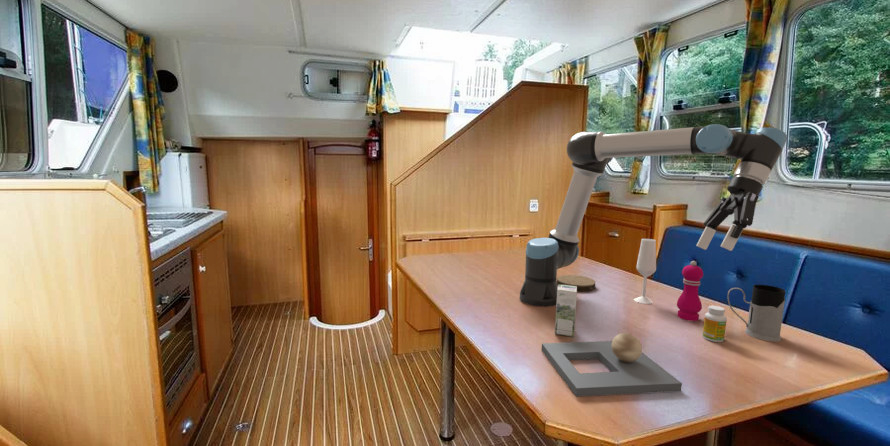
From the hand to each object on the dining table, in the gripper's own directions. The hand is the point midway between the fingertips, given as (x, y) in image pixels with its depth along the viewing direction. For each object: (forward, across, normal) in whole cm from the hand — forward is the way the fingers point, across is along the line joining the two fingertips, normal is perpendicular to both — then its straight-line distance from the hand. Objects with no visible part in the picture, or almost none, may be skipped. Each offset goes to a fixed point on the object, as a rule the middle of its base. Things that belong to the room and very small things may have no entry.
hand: (712, 248), depth 109 cm
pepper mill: (+20, +24, -14) cm, 35 cm away
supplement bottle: (+23, +8, -15) cm, 29 cm away
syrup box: (+42, +4, +24) cm, 49 cm away
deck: (+42, -16, +16) cm, 48 cm away
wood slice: (+29, +54, +18) cm, 64 cm away
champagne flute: (+22, +40, -4) cm, 45 cm away
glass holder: (+16, +15, -28) cm, 35 cm away
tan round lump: (+35, -16, +14) cm, 41 cm away
